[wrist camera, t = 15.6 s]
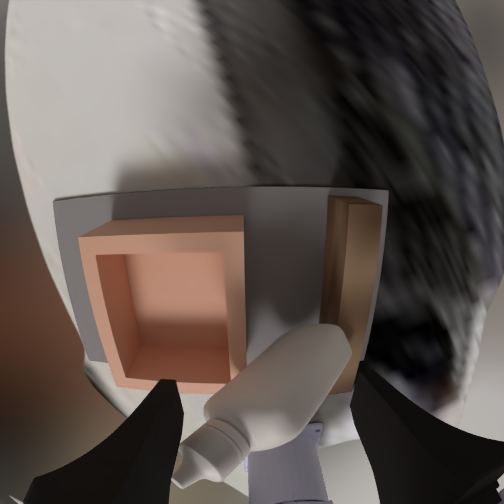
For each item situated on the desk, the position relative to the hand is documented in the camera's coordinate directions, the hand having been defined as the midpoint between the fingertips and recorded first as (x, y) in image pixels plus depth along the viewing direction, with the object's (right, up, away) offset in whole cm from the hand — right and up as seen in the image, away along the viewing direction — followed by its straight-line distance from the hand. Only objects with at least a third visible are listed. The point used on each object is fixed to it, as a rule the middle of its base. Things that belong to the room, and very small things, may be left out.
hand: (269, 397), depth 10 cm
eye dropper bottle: (+3, 0, +8) cm, 8 cm away
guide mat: (-3, +3, +10) cm, 11 cm away
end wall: (+5, +3, +10) cm, 12 cm away
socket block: (-6, +3, +9) cm, 11 cm away
